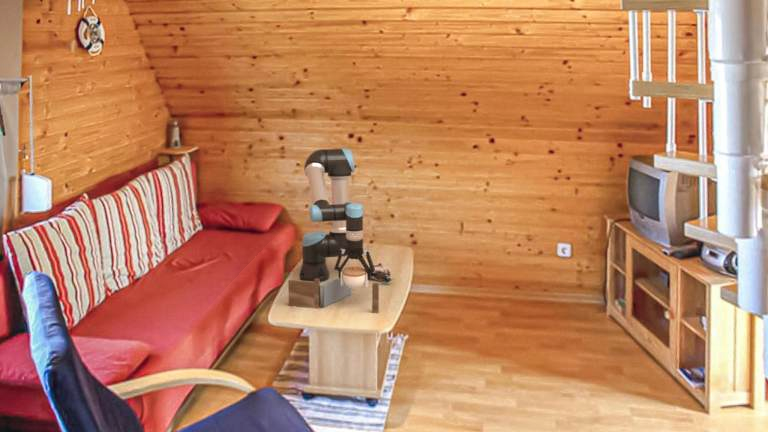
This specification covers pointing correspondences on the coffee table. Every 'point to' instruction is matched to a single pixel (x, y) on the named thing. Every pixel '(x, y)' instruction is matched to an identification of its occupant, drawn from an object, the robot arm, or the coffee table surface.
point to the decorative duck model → (381, 273)
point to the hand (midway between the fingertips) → (354, 285)
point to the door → (333, 292)
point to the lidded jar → (354, 277)
